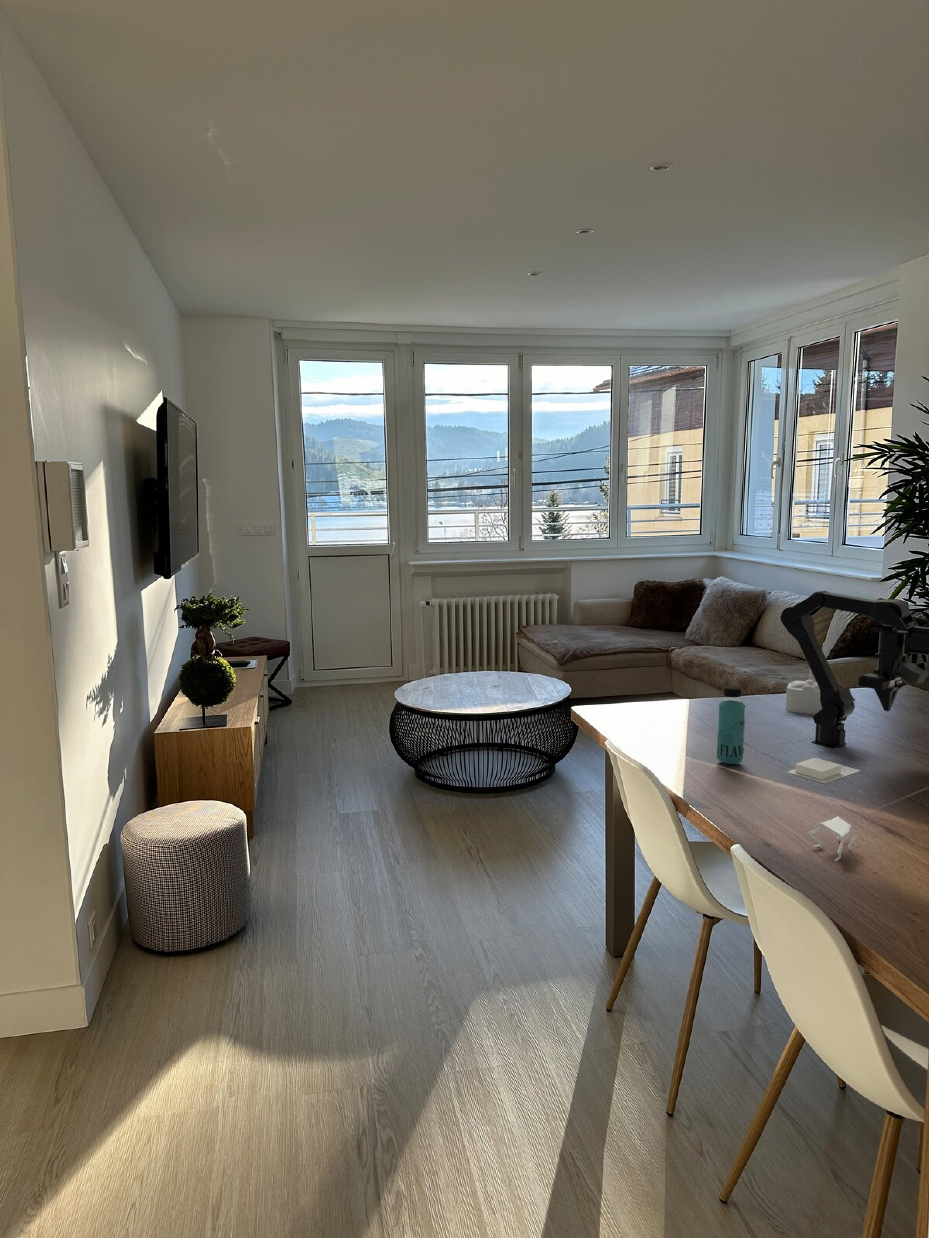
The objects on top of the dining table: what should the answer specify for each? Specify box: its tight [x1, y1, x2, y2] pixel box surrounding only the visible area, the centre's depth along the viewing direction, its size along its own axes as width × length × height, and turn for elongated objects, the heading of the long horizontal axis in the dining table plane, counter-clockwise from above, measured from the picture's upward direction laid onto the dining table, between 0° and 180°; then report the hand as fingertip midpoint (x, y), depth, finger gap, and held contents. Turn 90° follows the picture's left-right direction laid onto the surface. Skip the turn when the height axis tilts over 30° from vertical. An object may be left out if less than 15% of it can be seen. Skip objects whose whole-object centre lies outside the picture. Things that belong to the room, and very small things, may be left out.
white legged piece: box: [807, 815, 858, 862], centre depth 160 cm, size 12×8×5 cm
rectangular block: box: [794, 757, 842, 780], centre depth 202 cm, size 7×2×8 cm
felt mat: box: [787, 764, 862, 784], centre depth 204 cm, size 10×15×1 cm, turn 125°
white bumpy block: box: [785, 679, 822, 715], centre depth 260 cm, size 10×13×9 cm
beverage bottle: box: [715, 685, 746, 765], centre depth 208 cm, size 6×7×20 cm
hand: (887, 710), depth 214 cm, fingers closed
